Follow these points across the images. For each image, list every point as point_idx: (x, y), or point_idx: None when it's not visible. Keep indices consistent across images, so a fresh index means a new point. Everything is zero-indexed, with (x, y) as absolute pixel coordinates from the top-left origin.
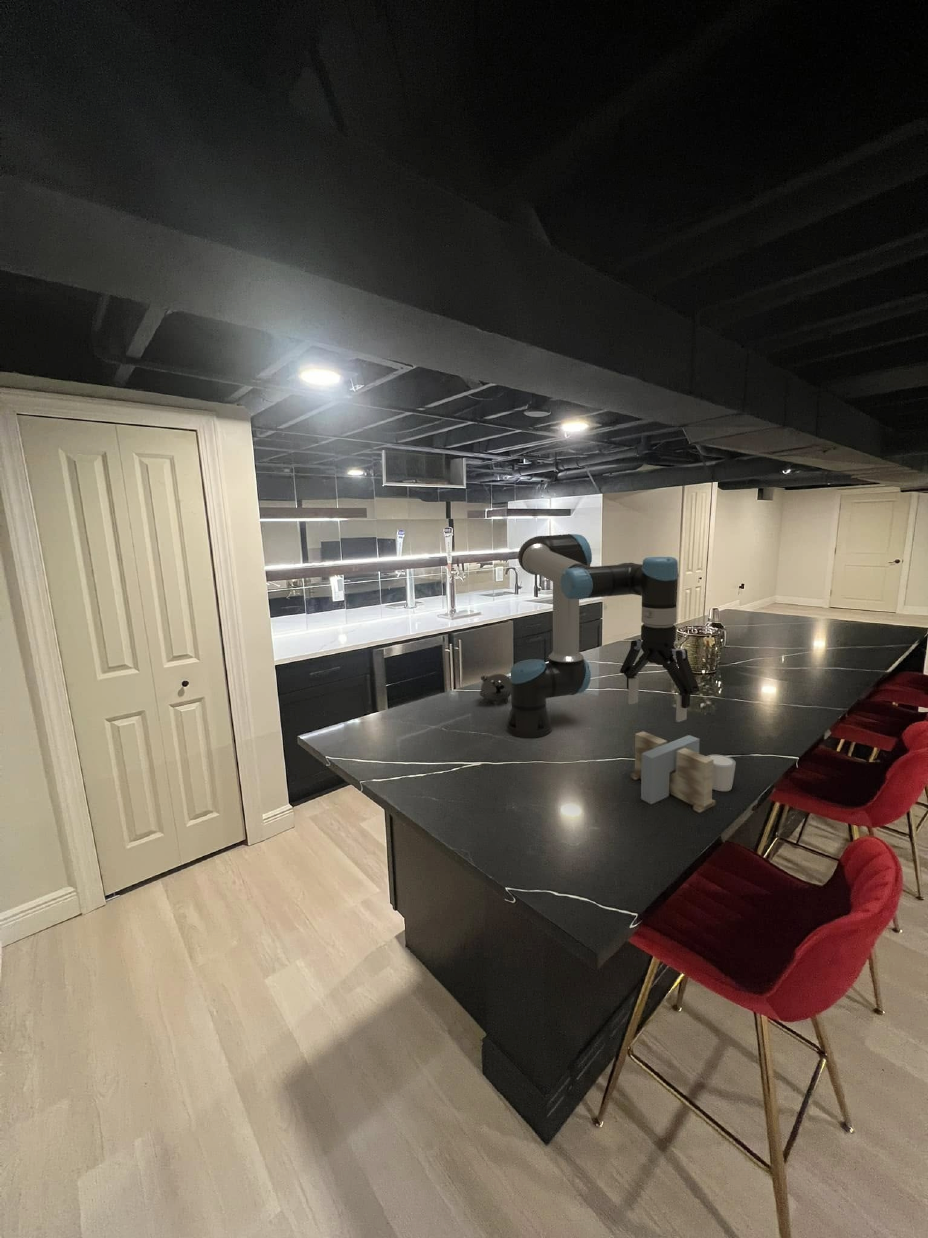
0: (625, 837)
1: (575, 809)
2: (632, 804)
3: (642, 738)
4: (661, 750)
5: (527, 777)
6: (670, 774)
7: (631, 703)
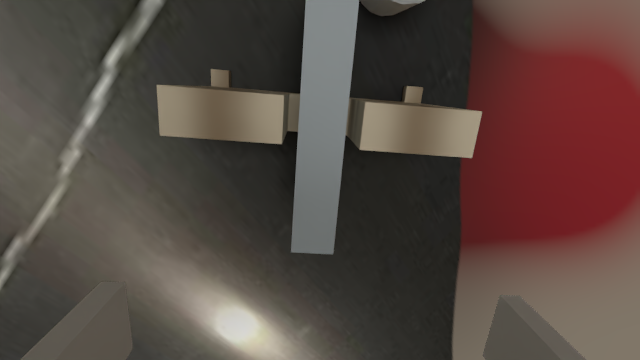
0: (356, 312)
1: (241, 318)
2: None
3: (200, 136)
4: (320, 186)
5: None
6: None
7: (127, 346)
